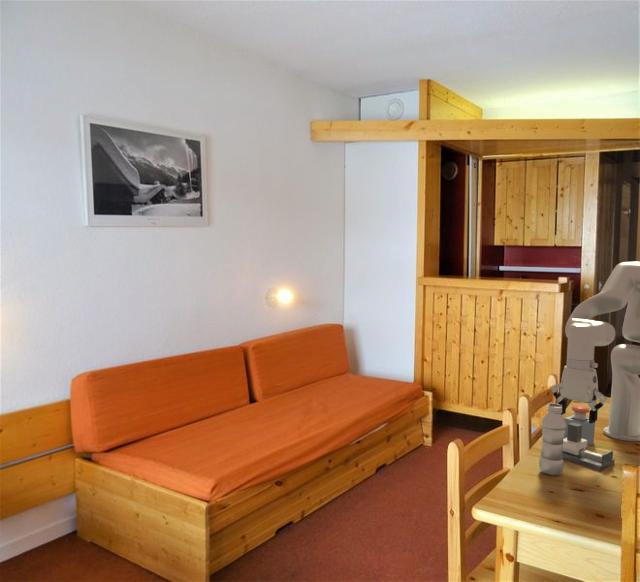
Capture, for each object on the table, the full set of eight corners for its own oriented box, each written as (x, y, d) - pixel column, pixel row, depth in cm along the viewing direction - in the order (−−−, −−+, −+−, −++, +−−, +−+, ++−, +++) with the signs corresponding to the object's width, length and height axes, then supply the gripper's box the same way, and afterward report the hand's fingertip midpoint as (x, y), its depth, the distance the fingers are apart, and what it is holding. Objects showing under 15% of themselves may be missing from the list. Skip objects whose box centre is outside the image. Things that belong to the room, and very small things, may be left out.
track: (569, 450, 190) (570, 436, 190) (614, 464, 180) (615, 449, 179) (555, 456, 185) (556, 442, 184) (600, 471, 174) (601, 456, 174)
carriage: (571, 446, 189) (573, 420, 188) (586, 451, 185) (588, 424, 184) (559, 451, 184) (561, 424, 184) (575, 456, 181) (577, 428, 180)
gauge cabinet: (573, 437, 203) (574, 414, 202) (593, 443, 198) (595, 419, 197) (561, 441, 198) (563, 418, 197) (582, 448, 193) (584, 423, 192)
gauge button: (575, 418, 201) (576, 404, 201) (591, 423, 197) (592, 408, 197) (568, 421, 198) (569, 407, 197) (583, 426, 194) (584, 410, 193)
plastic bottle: (565, 479, 168) (570, 409, 166) (539, 476, 169) (544, 407, 167) (560, 470, 174) (565, 403, 172) (536, 467, 175) (540, 401, 173)
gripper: (614, 367, 178) (610, 422, 180) (559, 357, 191) (556, 408, 193) (602, 371, 173) (599, 428, 175) (546, 360, 186) (544, 413, 188)
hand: (576, 418), depth 184 cm, fingers open, 9 cm apart
